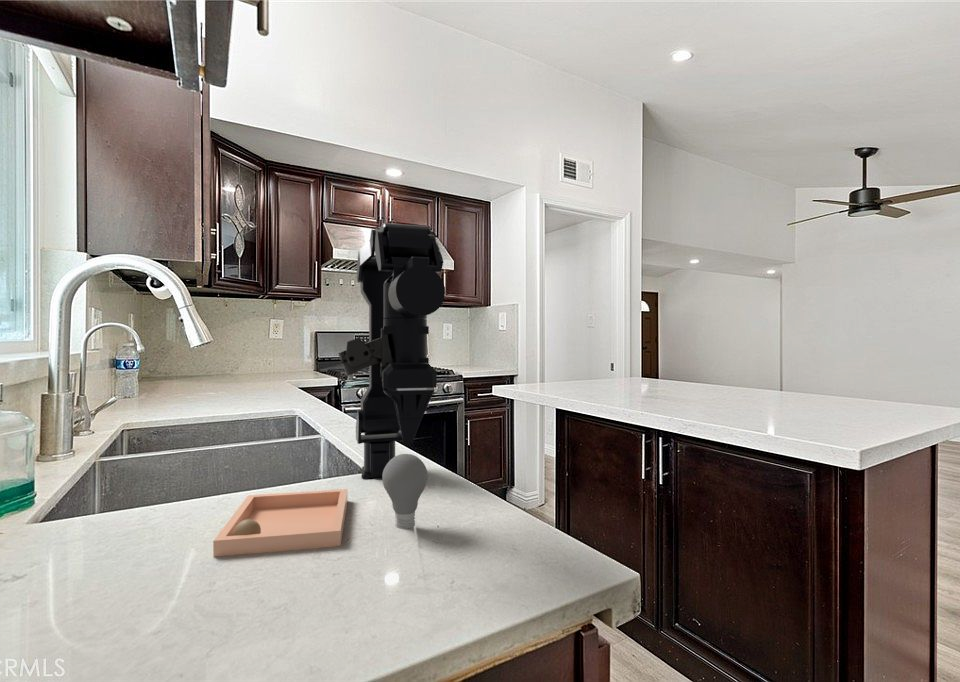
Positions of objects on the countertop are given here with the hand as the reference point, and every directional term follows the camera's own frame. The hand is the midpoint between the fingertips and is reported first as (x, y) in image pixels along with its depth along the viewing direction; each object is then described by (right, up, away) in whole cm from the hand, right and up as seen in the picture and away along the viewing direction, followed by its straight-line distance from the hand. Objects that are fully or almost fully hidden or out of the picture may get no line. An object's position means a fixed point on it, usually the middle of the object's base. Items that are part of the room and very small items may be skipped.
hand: (405, 435), depth 65 cm
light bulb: (0, -13, 0) cm, 13 cm away
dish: (-15, -12, 0) cm, 20 cm away
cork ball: (-18, -12, -6) cm, 23 cm away
